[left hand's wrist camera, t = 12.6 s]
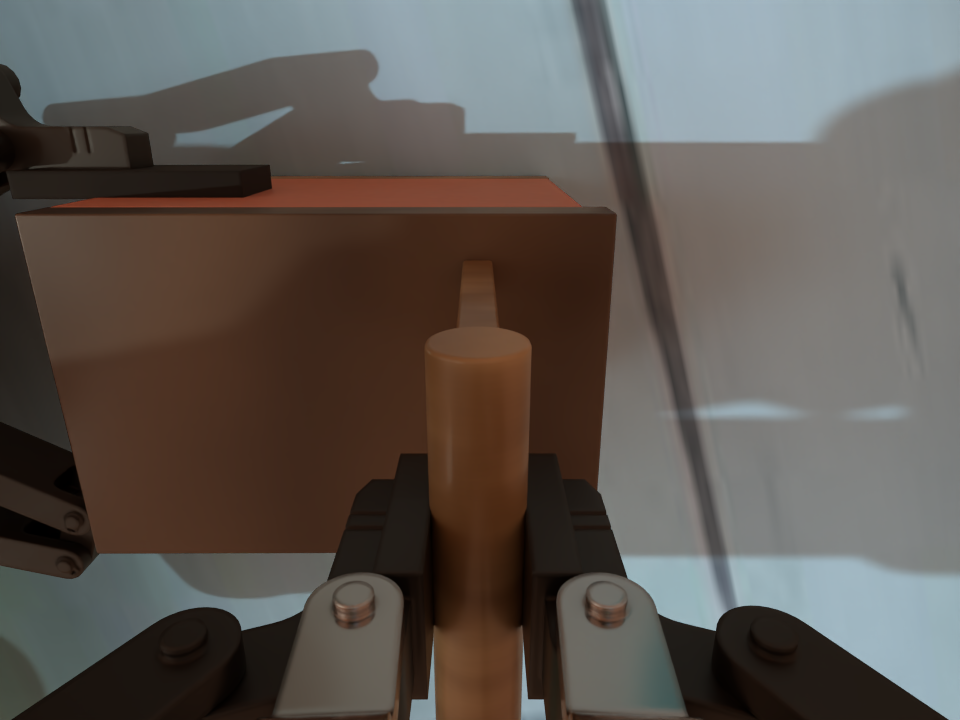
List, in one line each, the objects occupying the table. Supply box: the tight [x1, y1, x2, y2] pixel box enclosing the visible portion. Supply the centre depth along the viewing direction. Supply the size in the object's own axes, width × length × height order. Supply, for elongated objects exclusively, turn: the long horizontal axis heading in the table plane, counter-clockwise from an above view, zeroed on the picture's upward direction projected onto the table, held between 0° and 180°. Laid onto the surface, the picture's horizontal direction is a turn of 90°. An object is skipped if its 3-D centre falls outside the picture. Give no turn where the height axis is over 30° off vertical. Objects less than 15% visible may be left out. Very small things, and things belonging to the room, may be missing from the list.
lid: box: [15, 207, 617, 720], centre depth 14 cm, size 14×10×9 cm
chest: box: [53, 176, 582, 207], centre depth 23 cm, size 14×10×10 cm
